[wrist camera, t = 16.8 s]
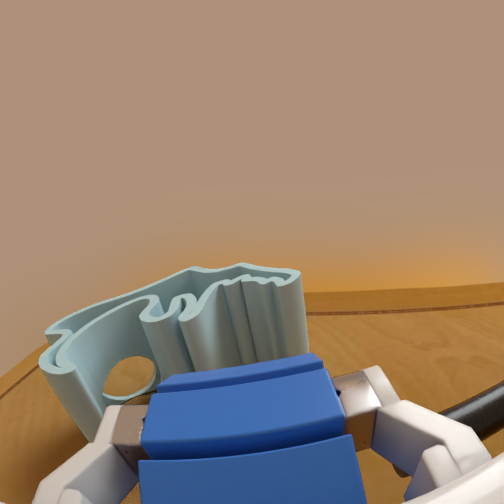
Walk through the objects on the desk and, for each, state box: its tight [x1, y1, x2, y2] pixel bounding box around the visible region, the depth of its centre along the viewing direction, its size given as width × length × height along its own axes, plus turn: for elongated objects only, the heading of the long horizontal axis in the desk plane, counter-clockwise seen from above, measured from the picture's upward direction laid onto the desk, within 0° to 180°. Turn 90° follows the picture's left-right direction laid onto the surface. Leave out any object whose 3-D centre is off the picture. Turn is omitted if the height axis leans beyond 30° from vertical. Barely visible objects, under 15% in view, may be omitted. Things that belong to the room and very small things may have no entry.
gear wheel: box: [138, 353, 367, 504], centre depth 9 cm, size 5×9×9 cm, turn 4°
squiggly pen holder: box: [38, 263, 309, 443], centre depth 22 cm, size 18×10×9 cm, turn 128°
